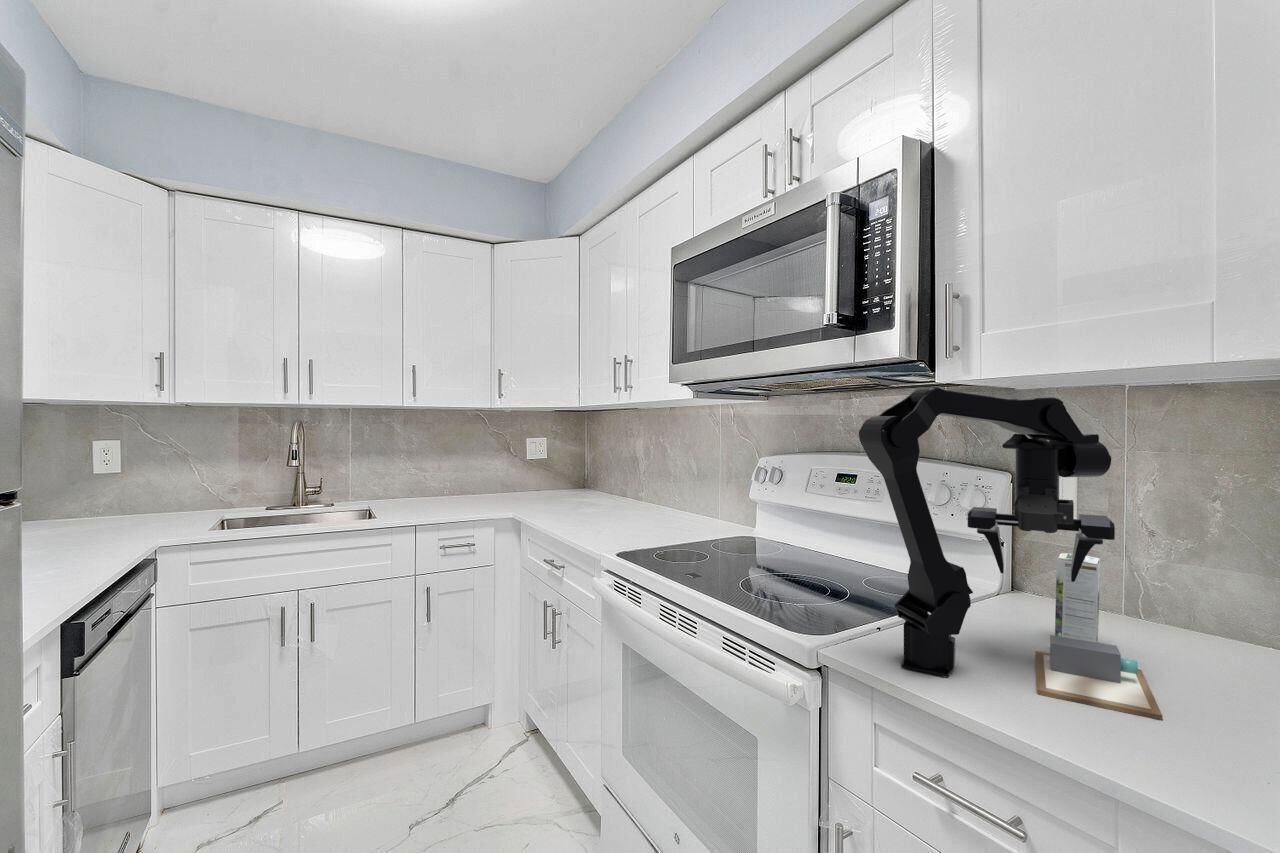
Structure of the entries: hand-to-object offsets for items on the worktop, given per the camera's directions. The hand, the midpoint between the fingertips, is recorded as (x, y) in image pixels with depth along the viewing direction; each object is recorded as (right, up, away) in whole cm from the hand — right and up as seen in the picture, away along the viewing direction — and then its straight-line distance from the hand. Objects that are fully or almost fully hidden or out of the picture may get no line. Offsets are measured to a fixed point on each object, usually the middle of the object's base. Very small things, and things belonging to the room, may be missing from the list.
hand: (1036, 576), depth 92 cm
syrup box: (+12, -13, +7) cm, 19 cm away
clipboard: (+2, -13, -8) cm, 16 cm away
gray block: (+3, -12, -7) cm, 14 cm away
